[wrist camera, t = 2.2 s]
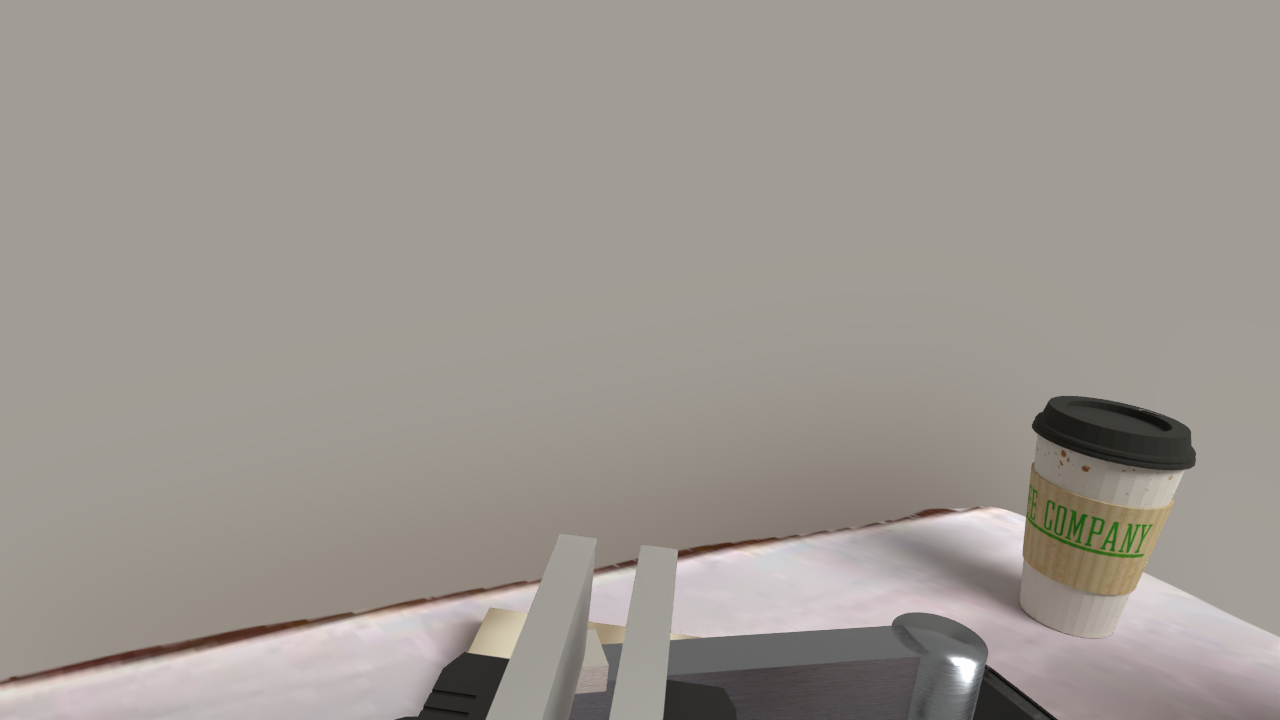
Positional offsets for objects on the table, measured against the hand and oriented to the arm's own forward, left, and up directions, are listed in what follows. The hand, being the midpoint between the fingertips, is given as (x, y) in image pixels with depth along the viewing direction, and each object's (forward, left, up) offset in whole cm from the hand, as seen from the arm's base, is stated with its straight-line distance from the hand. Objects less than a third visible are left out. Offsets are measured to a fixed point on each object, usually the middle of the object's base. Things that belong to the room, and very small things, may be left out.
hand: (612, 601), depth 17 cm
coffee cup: (-30, -40, -20) cm, 54 cm away
